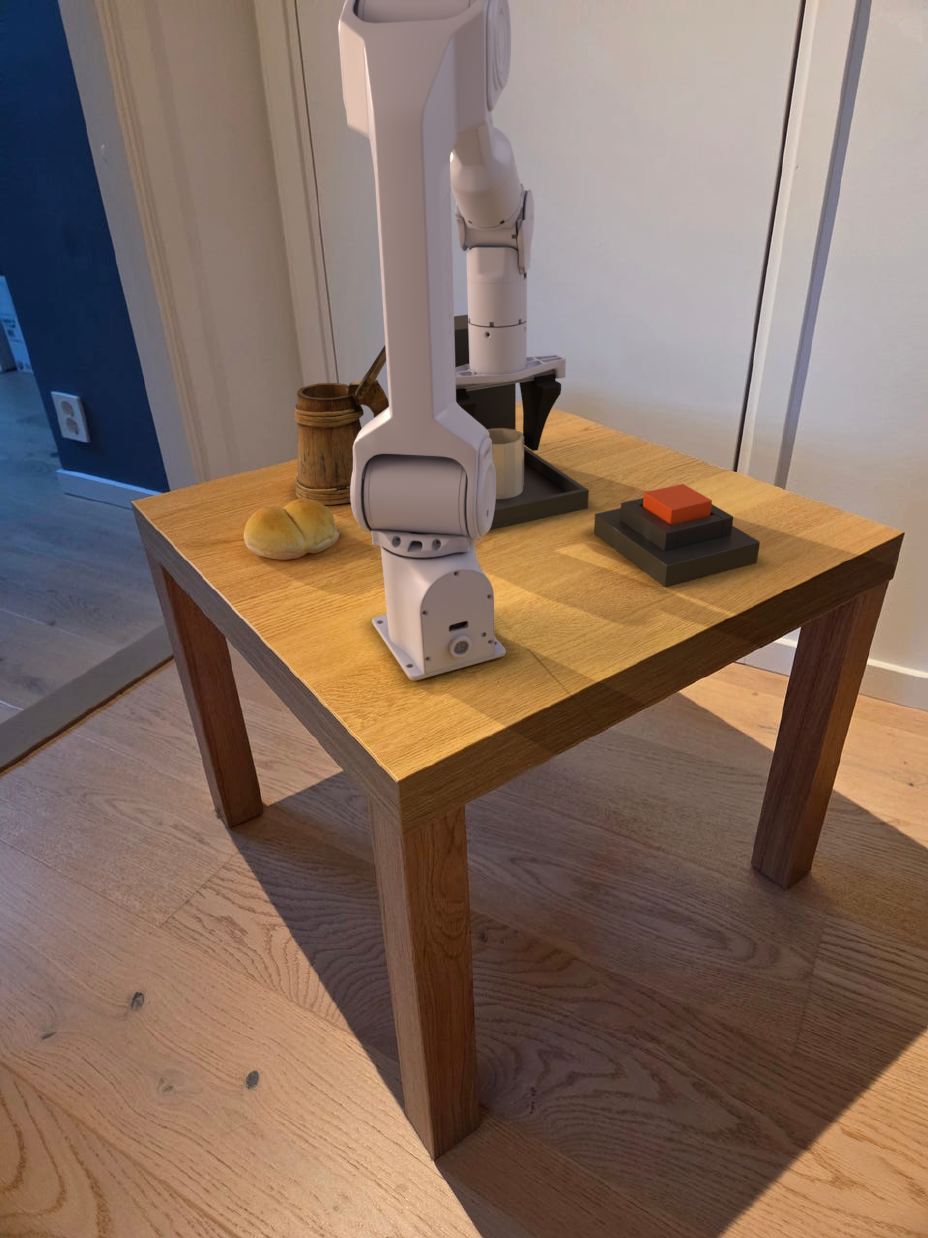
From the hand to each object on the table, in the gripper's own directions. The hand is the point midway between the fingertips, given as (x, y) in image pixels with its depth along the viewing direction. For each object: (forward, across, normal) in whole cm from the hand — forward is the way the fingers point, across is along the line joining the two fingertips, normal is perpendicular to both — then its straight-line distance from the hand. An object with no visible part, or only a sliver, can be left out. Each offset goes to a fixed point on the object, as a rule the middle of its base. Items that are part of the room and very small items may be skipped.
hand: (498, 453), depth 90 cm
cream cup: (+4, 0, 0) cm, 4 cm away
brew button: (+1, -9, +19) cm, 21 cm away
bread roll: (+5, +23, +1) cm, 24 cm away
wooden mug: (+5, +14, -9) cm, 17 cm away
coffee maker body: (+5, 0, -11) cm, 12 cm away
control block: (+5, -9, +19) cm, 21 cm away
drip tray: (+5, 0, 0) cm, 5 cm away
